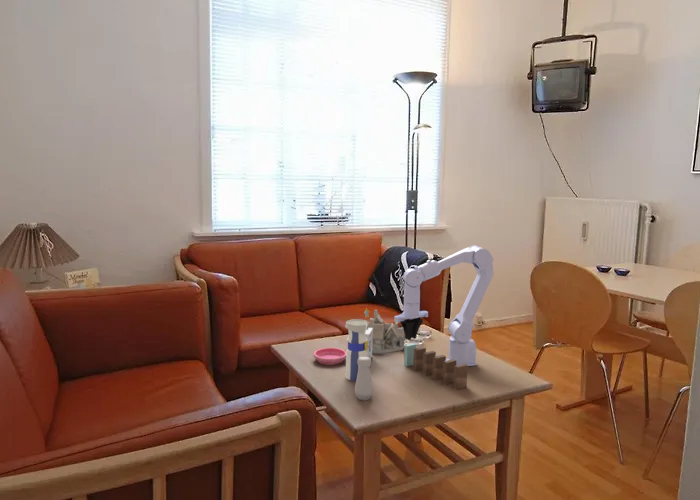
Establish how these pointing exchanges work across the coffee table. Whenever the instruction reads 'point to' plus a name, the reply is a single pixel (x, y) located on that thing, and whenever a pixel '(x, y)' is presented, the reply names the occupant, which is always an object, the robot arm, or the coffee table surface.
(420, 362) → the domino
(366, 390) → the salt shaker
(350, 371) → the water bottle
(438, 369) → the domino
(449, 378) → the domino
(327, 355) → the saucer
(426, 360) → the domino
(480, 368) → the coffee table surface
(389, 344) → the ceramic cottage
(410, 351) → the domino
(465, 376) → the domino
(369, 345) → the ink box
